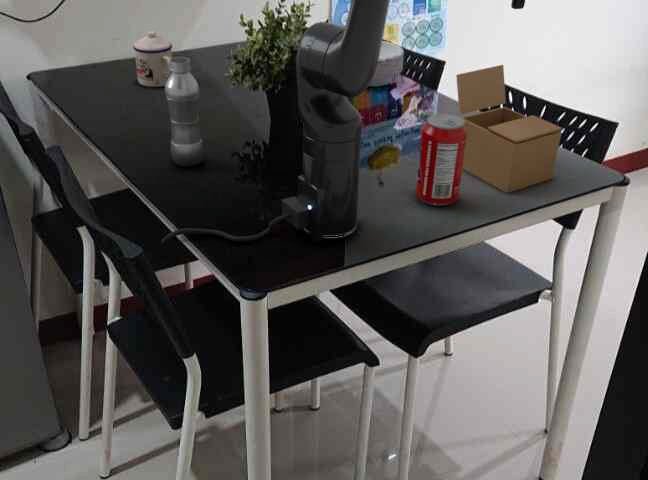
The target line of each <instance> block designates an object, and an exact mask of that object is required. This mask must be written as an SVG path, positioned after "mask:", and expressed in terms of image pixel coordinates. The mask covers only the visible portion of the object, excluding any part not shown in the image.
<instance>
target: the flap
mask: <svg viewBox="0 0 648 480" xmlns="http://www.w3.org/2000/svg"><path fill="white" fill-rule="evenodd" d="M504 70H505V69H504V64H500V65H495V66H491V67H486V68H482V69H477V70H472V71H468V72H461V73H457V74H456V75H455V76H456V89H457V99H458V113H459V115H464V114H468V113H472V112H476V111H477V112H478V111H481V110H484V109H485V110H486V109H489V108H492V107H497V106H501V105H505V104H506V103H507V101H506V88H505V87H506V86H505V71H504Z"/></svg>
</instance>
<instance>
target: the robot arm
mask: <svg viewBox="0 0 648 480" xmlns="http://www.w3.org/2000/svg"><path fill="white" fill-rule="evenodd" d="M390 2H391V0H350V5H349V10H348V13H347V19H346V22H345V26H341V25H338V24H335V23H332V22H326V21H320V22H316V23H313V24H311V25H310V26H309V27H308V28H307V29H306V30H305V31H304V33H303V34H302V36H301V38H300V41H299V44H298V48H297V54H296V67H295V69H296V86H297V87H296V88H297V89H296V90H297V109H298V114H299V117H300V120H301V122H302V174H301V175H298V176H297V195H296V196H297V197H296V196H291V197H287V198H282V199H281V201H280V203H281V215H280V216H277V217H275V218H274V219H272V220H271V221H270V222H269V224H268V227H267V228H265V229H264V230H263V231H262V232H259V233H257V234H254V235H253V234H252V235H247V236H246V235H245V236H236V235H232V234H229V233H227V232H225V231H222V230H218V229H207V228H194V227H193V228H192V227H186V228H185V227H184V228H180V229H176V230H174V231H172V232H170V233H168V234H166V236H164V237H163V238H162V239H161V241H160V243H161V244H162V243H163V244H166V243H167V242H169V241H170V240H171V239H174V238H175V237H177V236H180V235H184V234H197V235H198V234H200V235H213V236H218V237H221V238H224V239H227V240H229V241H232V242H241V243H243V242H244V243H245V242H253V241H257V240H259V239H261V238H263V237H265V236H267V235H268V234H270V233H271V232H272V231H273V230H274V227H275V225H277V224H279V223H280V222H282V221H286V222H288V223H289V224H290V225H291V226H293V227H294V228H295V229H296V230H300V231H301V232H302V233H304V234H305V235H306V236H308V237H309V238H310V239H311V240H313V241H314V242H315V243H319V242H337V241H344V240H346V239H349V238H350V237H353V236H354V235H355V233H356V232H357V230H358V205H359V204H358V203H359V185H360V165H361V149H362V131H363V119H362V115H361V113H360V112H359V111H358V110H357V108H356V107H355V106H353V105H352V103H351V102H350V101H349V100H348V98H356V97H359V96H361V95H362V94H363V93H364V92H365V91H366V90H367V88H369V87H370V86H369V84H370V82H371V80H372V78H373V76H374V73H375V70H376V67H377V63H378V59H379V55H380V50H381V45H382V41H383V38H384V34H385V28H386V23H387V17H388V12H389V6H390ZM525 3H526V0H511V8H512V9H513V10H522V9H523V8H525ZM356 226H357V227H356ZM355 228H356V229H355ZM354 229H355V230H354ZM352 230H354V231H353V232H351V231H352ZM309 232H310V233H309ZM350 232H351V233H350ZM347 233H349V234H347ZM312 234H313V235H314V236H313V235H312ZM342 234H347V235H344V236H339V237H319V236H338V235H342ZM316 237H319V238H316ZM168 380H169V381H170V377H169V375H168V376H165V377H164V382H165V381H168Z"/></svg>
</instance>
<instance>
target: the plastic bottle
mask: <svg viewBox="0 0 648 480" xmlns="http://www.w3.org/2000/svg"><path fill="white" fill-rule="evenodd" d="M170 71H171V72H172V74H171V75H170V77H169V78H168V80H167V82H166V85H165V86H164V93H165V97H166V102H167V106H168V110H169V117H170V124H171V125H170V128H171V129H170V130H171V132H170V133H171V134H170V135H171V140H170V155H171V158H172V160H173V162H174V163H175V164H176V165H177V166H182V167H194V166H196V165H197V166H198V165H199V164H200V163H202V161H203V160H204V157H205V147H204V141H203V139H202V134H201V127H200V118H199V115H200V114H199V104H200V86H199V83H198V81H197V80H196V79H195V77H194V76H193V75H192V73H191V71H192V66H191V61H190V58H188V57H185V56H175V57H172V58H171V59H170Z"/></svg>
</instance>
